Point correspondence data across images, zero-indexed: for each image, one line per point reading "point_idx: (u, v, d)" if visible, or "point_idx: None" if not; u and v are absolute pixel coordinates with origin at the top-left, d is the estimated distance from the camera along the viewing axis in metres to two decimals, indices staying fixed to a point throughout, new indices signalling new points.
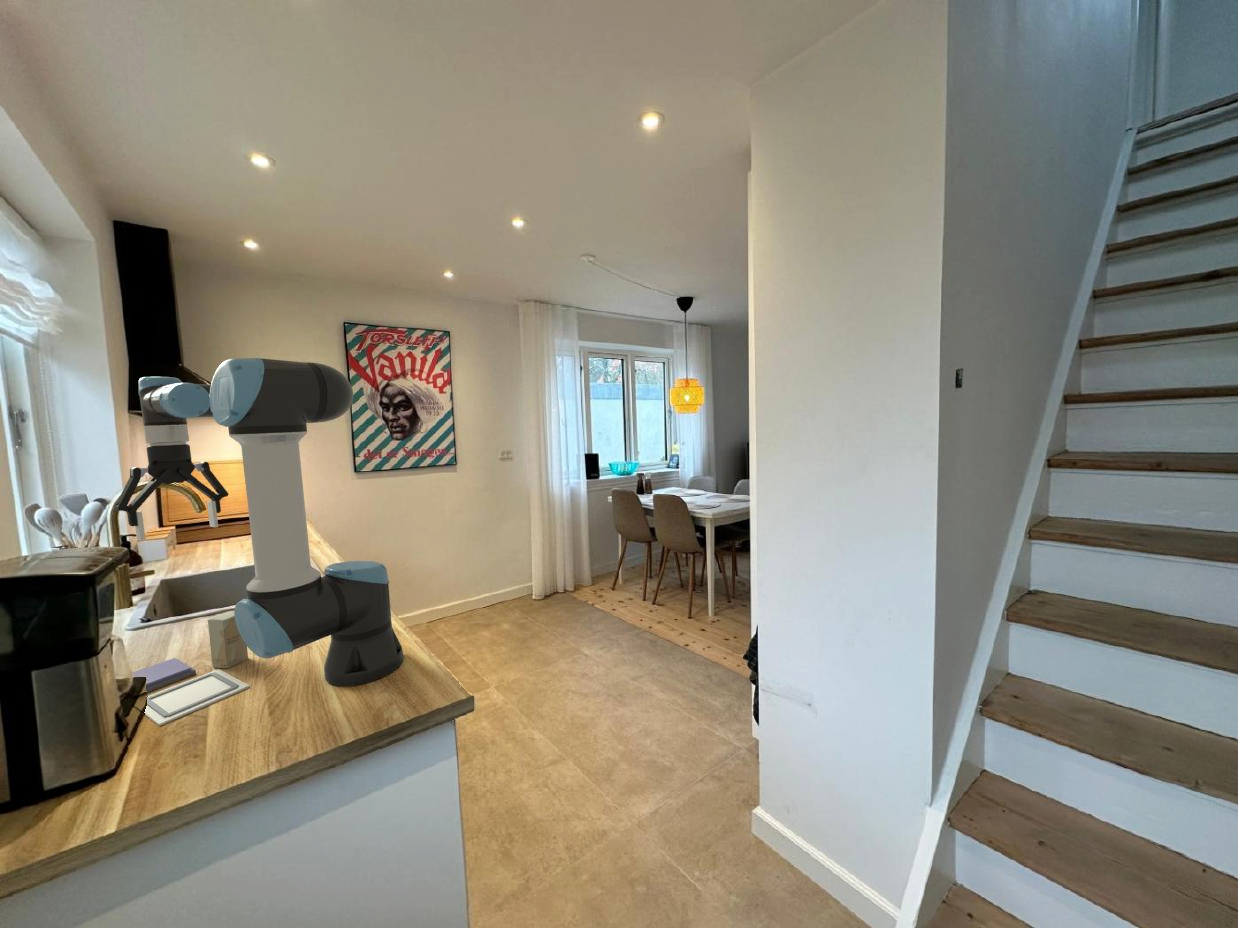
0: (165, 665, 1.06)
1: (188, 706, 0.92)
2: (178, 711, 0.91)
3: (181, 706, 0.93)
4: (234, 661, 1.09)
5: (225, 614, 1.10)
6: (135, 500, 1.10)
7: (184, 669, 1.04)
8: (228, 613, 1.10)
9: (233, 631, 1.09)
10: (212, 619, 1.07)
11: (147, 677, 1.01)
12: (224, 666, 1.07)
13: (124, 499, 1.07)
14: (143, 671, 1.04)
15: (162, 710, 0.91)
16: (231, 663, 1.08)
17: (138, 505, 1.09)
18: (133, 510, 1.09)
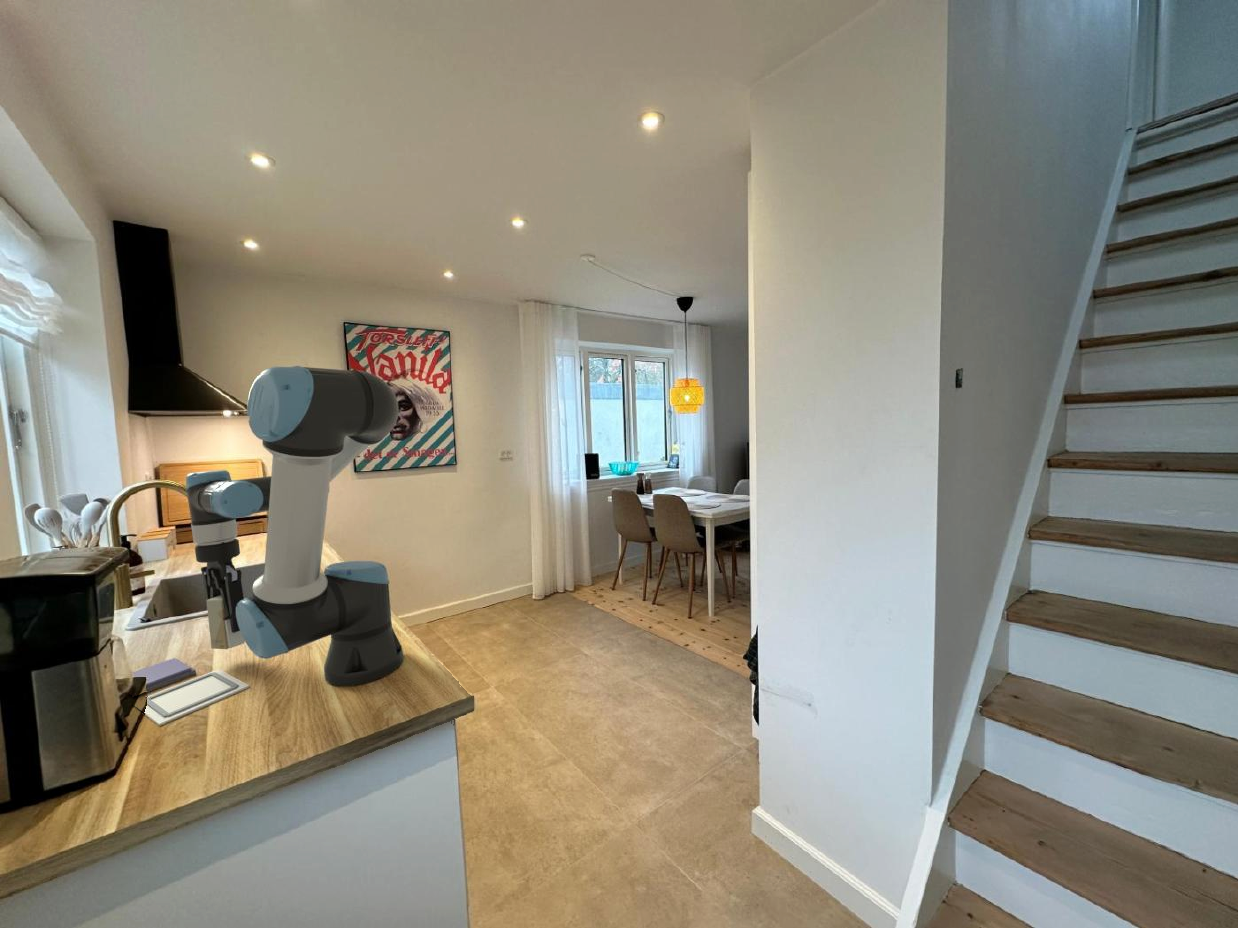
0: (165, 665, 1.06)
1: (188, 706, 0.92)
2: (178, 711, 0.91)
3: (181, 706, 0.93)
4: None
5: None
6: None
7: (184, 669, 1.04)
8: None
9: None
10: (211, 600, 1.06)
11: (147, 677, 1.01)
12: (223, 647, 1.06)
13: (206, 598, 1.10)
14: (143, 671, 1.04)
15: (162, 710, 0.91)
16: None
17: None
18: None
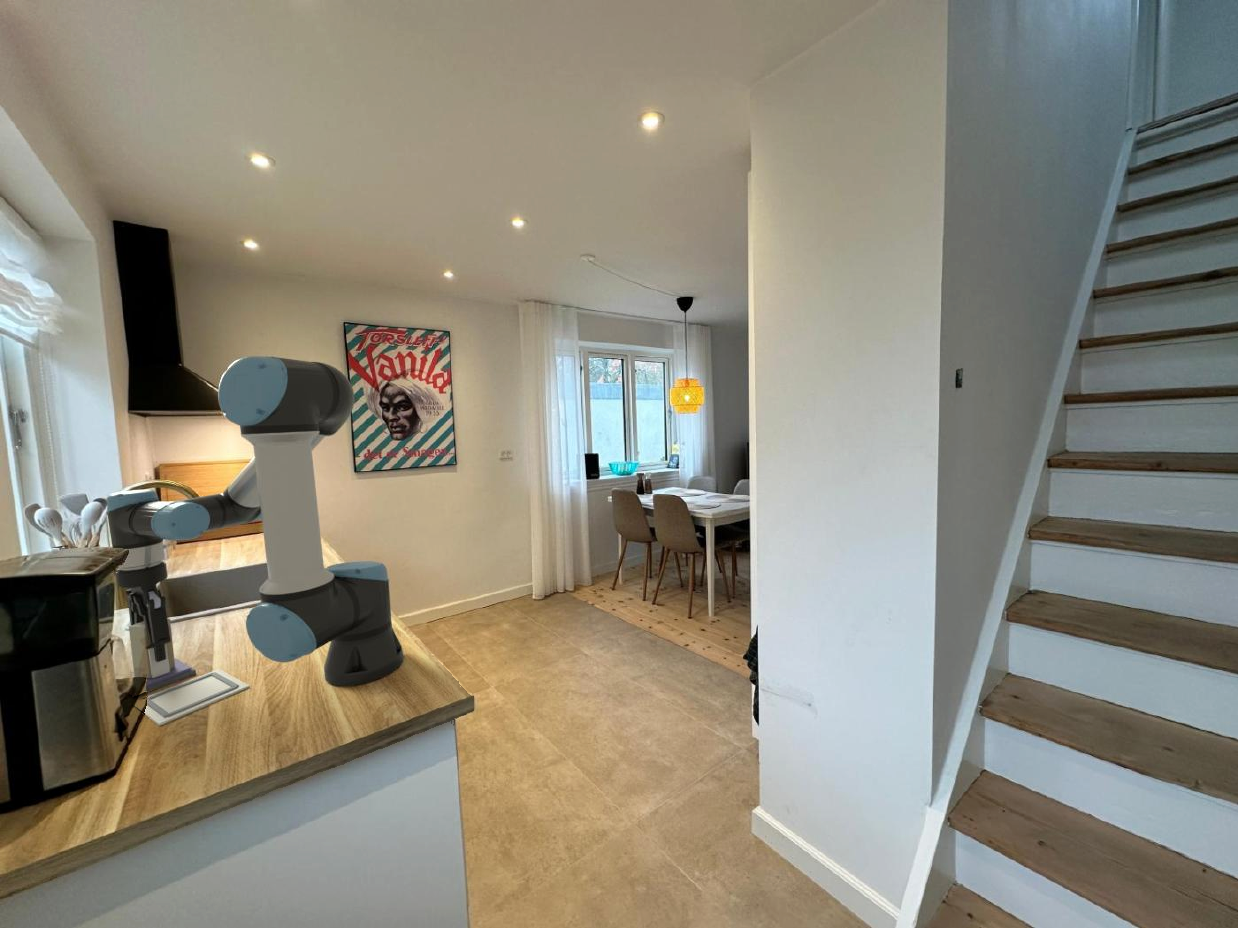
0: None
1: (188, 706, 0.92)
2: (178, 711, 0.91)
3: (181, 706, 0.93)
4: None
5: None
6: None
7: (184, 669, 1.04)
8: None
9: None
10: (133, 626, 1.01)
11: None
12: (146, 676, 1.01)
13: (130, 623, 1.05)
14: None
15: (162, 710, 0.91)
16: None
17: None
18: None
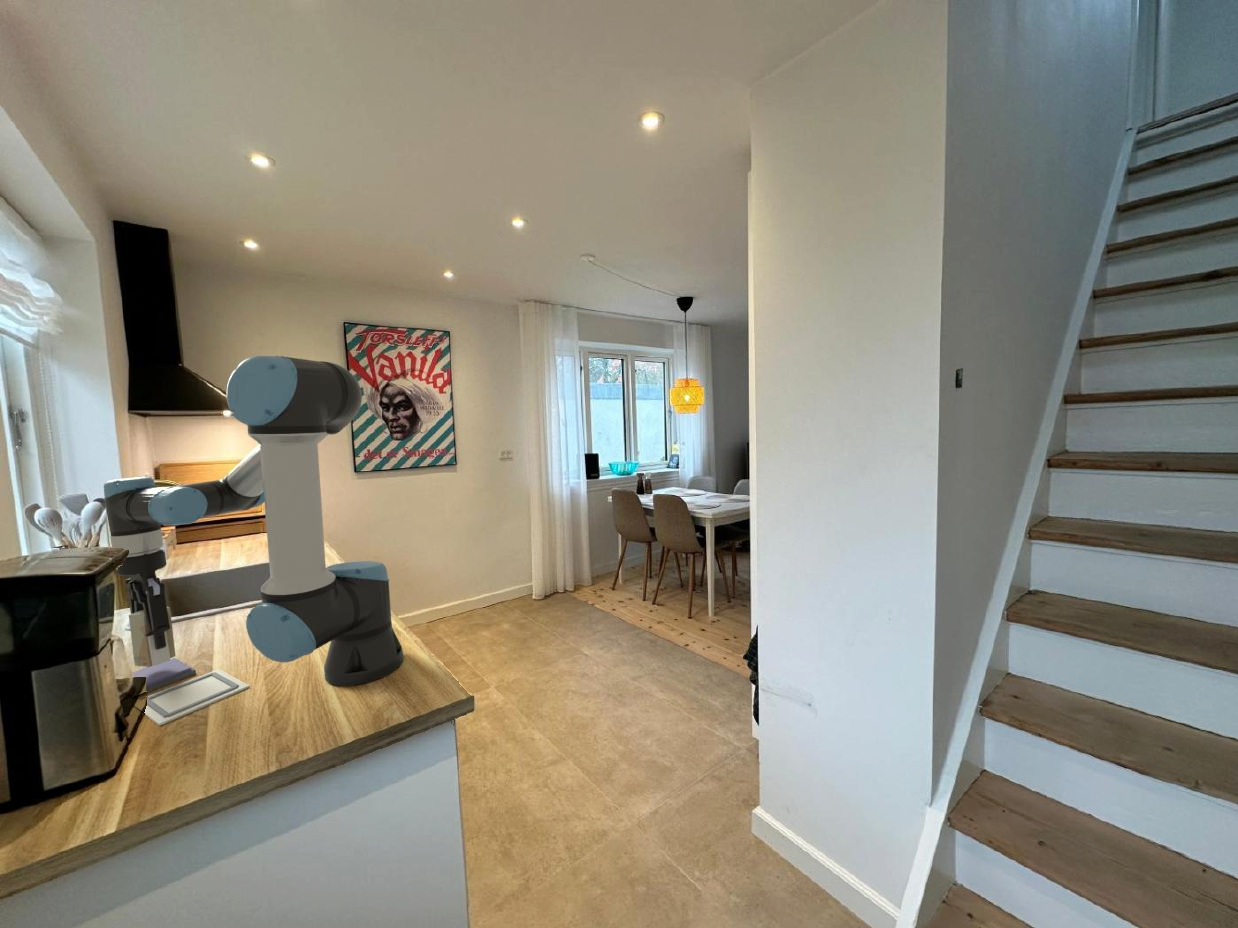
0: (165, 665, 1.06)
1: (188, 706, 0.92)
2: (178, 711, 0.91)
3: (181, 706, 0.93)
4: None
5: None
6: None
7: (184, 669, 1.04)
8: None
9: None
10: (133, 614, 1.00)
11: (147, 677, 1.01)
12: (146, 664, 1.00)
13: (131, 612, 1.04)
14: (143, 671, 1.04)
15: (162, 710, 0.91)
16: None
17: None
18: None
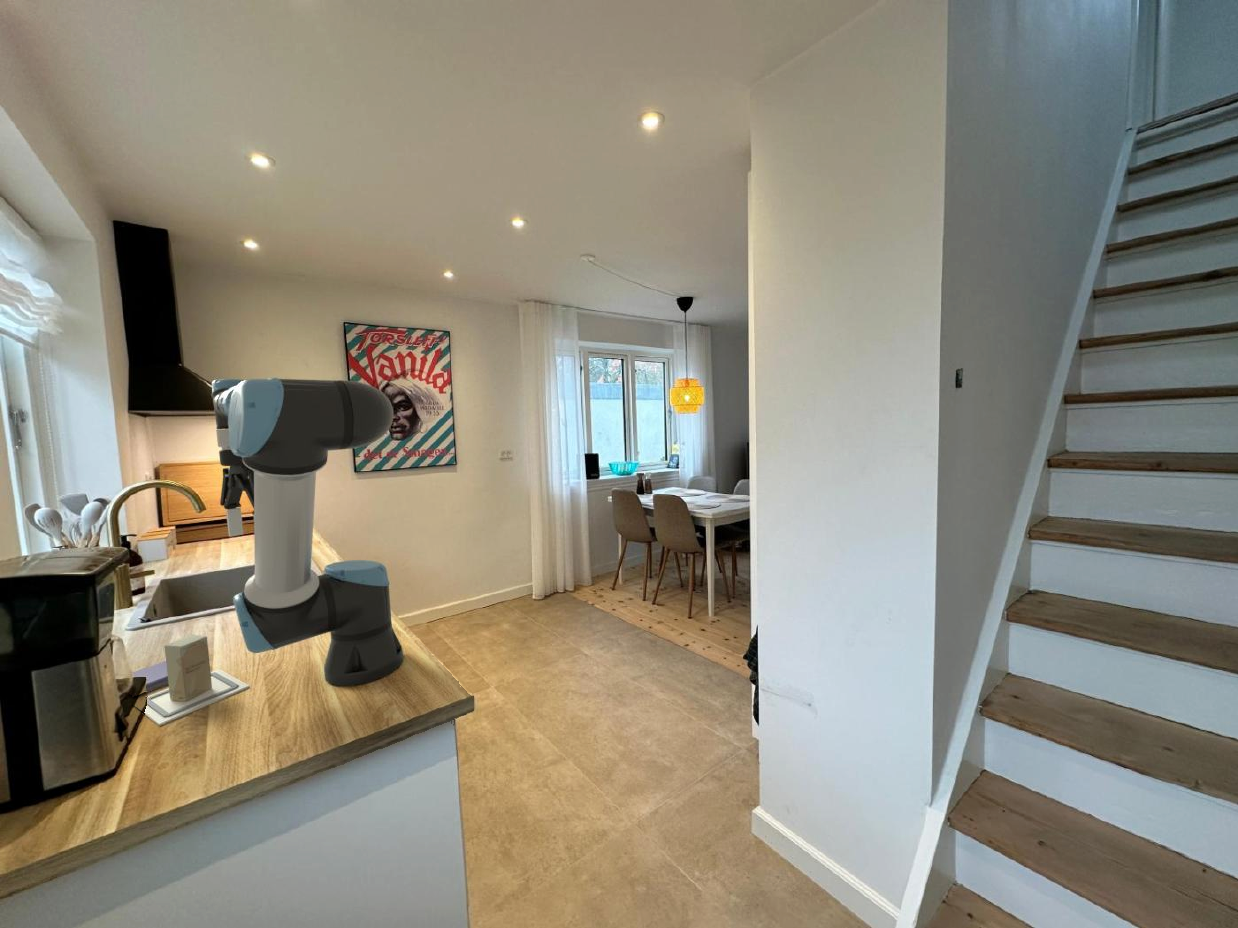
0: (165, 665, 1.06)
1: (188, 706, 0.92)
2: (178, 711, 0.91)
3: (181, 706, 0.93)
4: (194, 693, 0.95)
5: (185, 639, 0.96)
6: None
7: None
8: (189, 637, 0.97)
9: (193, 659, 0.95)
10: (169, 645, 0.94)
11: (147, 677, 1.01)
12: (182, 699, 0.94)
13: (221, 496, 1.17)
14: (143, 671, 1.04)
15: (162, 710, 0.91)
16: (190, 695, 0.95)
17: (226, 503, 1.16)
18: (224, 507, 1.17)
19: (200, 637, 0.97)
